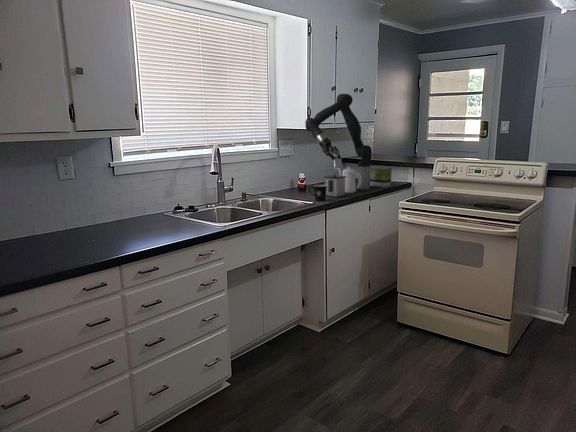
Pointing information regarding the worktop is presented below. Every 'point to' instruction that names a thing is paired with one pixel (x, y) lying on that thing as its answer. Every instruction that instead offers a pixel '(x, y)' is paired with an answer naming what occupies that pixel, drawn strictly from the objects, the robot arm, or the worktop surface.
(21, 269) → the worktop surface
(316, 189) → the coffee mug
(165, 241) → the worktop surface
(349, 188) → the coffeepot
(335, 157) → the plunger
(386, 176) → the tea box
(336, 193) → the utensil holder
